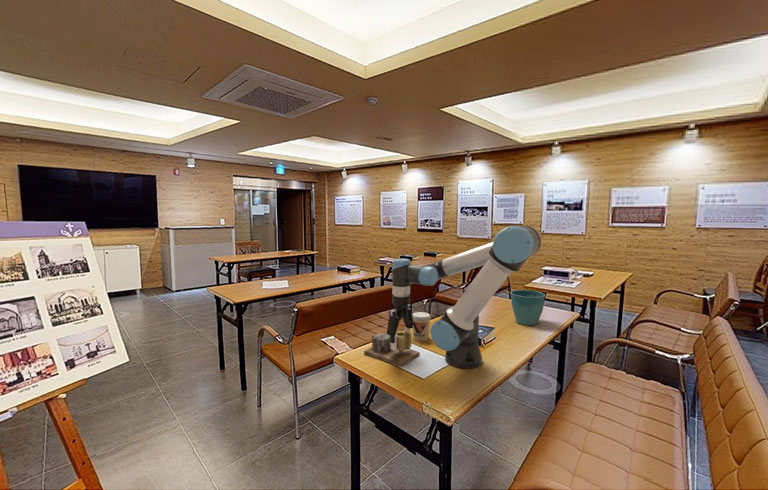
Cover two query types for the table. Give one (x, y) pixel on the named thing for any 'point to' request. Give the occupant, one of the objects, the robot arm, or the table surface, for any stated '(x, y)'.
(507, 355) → the table surface
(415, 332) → the coffee cup
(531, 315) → the flower pot
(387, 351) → the gear board
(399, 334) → the brass gear
